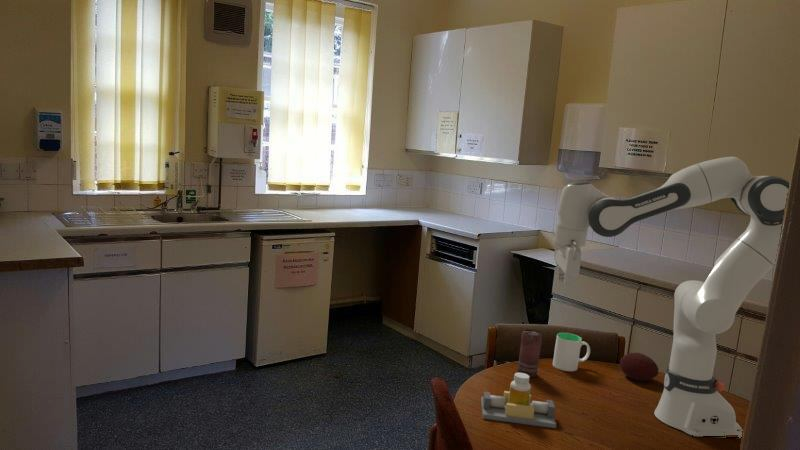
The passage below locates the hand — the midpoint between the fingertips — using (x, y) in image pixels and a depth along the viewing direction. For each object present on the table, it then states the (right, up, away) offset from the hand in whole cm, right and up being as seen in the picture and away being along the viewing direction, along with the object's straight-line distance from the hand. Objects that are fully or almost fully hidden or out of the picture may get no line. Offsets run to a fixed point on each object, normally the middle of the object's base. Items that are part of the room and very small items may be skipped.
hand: (563, 284), depth 177 cm
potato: (+30, -33, +23) cm, 51 cm away
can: (-7, -31, +17) cm, 36 cm away
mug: (+10, -31, +28) cm, 43 cm away
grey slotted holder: (-16, -34, -12) cm, 39 cm away
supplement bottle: (-16, -33, -12) cm, 38 cm away
